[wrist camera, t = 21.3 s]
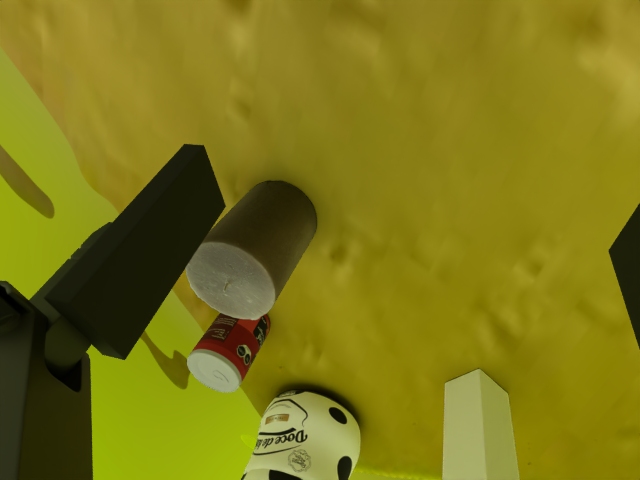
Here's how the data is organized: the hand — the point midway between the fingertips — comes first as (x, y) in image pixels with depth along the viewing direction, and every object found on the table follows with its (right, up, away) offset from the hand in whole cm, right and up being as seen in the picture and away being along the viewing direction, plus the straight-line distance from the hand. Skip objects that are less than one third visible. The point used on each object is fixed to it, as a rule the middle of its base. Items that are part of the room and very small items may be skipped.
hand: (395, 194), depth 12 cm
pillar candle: (-7, +2, +36) cm, 37 cm away
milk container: (-3, -32, +56) cm, 65 cm away
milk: (+20, -22, +42) cm, 51 cm away
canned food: (-14, -14, +48) cm, 52 cm away
